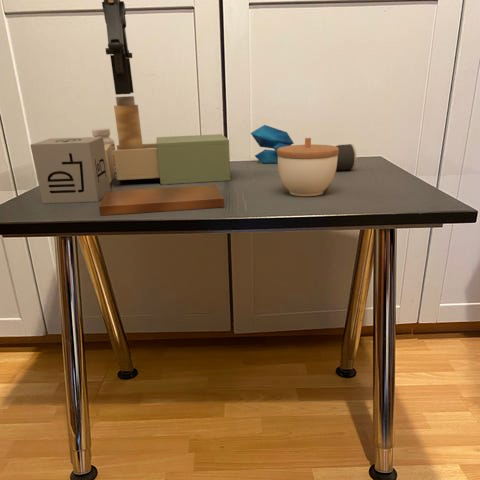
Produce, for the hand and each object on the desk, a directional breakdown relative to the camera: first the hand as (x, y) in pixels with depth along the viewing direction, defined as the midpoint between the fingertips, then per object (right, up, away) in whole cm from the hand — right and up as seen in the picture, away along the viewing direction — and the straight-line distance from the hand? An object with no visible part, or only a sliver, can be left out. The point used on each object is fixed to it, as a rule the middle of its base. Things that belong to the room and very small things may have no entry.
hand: (125, 93), depth 97 cm
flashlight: (+41, -13, +11) cm, 44 cm away
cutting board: (+10, -25, -13) cm, 30 cm away
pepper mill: (0, -14, +7) cm, 15 cm away
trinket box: (+35, -22, -9) cm, 43 cm away
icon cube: (-8, -22, -6) cm, 24 cm away
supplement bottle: (-9, -10, +19) cm, 23 cm away
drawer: (-1, -15, +7) cm, 16 cm away
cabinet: (+13, -14, +9) cm, 21 cm away
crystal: (+31, -6, +25) cm, 41 cm away
